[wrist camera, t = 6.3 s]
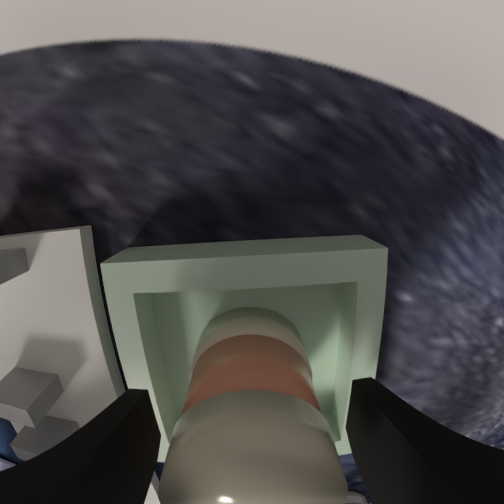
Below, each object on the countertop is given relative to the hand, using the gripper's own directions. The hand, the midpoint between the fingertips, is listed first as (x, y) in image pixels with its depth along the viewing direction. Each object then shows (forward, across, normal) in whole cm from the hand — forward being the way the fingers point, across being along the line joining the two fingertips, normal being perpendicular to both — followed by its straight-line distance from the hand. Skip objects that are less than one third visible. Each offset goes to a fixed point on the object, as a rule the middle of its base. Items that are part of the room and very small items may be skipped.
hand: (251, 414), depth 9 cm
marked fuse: (+3, 0, 0) cm, 4 cm away
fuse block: (+4, +10, +3) cm, 12 cm away
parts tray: (+4, 0, 0) cm, 4 cm away
